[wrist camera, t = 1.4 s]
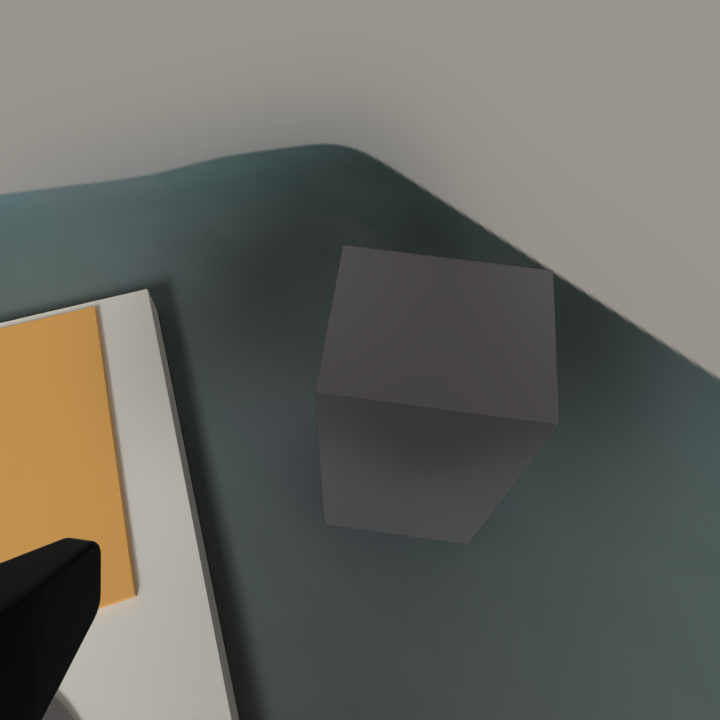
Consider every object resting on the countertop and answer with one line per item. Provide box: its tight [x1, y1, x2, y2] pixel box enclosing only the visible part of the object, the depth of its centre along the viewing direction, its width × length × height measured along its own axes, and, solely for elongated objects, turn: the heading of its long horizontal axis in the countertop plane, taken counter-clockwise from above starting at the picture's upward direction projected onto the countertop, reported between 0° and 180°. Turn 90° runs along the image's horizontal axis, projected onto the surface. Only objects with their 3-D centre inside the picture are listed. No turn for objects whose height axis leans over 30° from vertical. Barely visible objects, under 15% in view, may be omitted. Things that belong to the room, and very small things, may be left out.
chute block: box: [315, 245, 559, 545], centre depth 18 cm, size 4×5×10 cm
